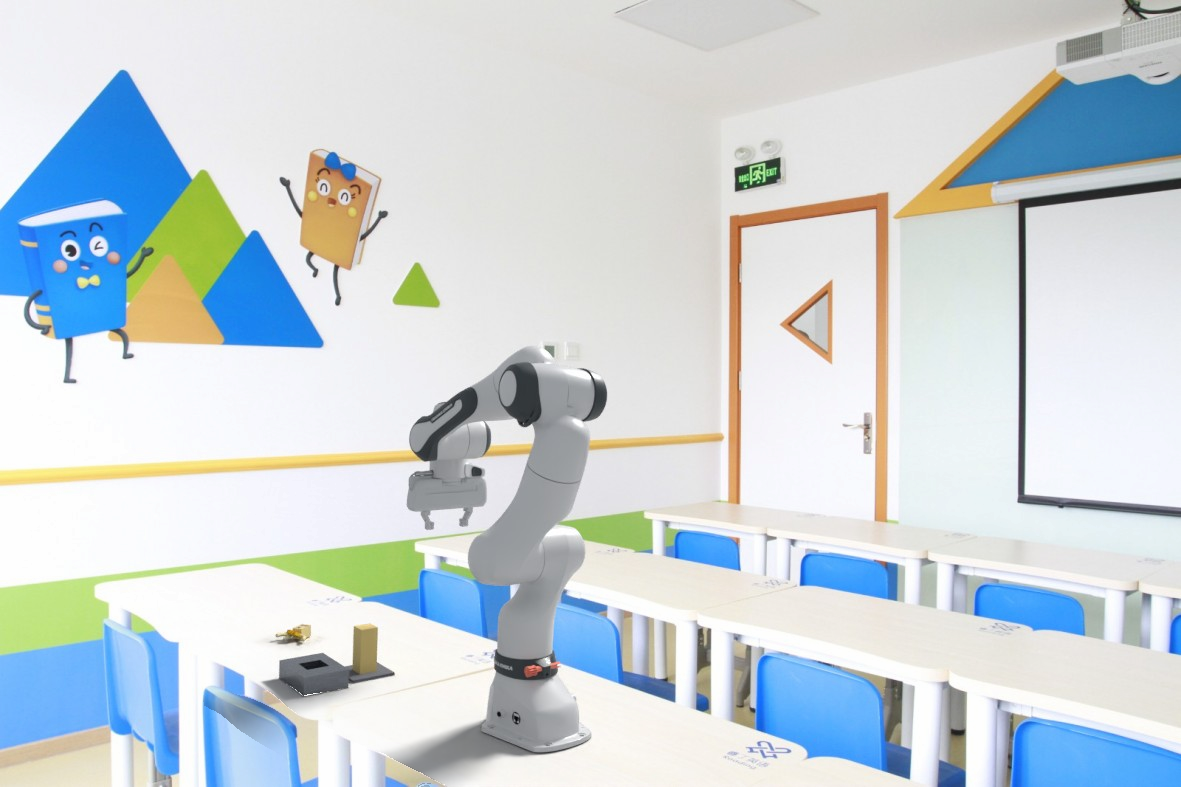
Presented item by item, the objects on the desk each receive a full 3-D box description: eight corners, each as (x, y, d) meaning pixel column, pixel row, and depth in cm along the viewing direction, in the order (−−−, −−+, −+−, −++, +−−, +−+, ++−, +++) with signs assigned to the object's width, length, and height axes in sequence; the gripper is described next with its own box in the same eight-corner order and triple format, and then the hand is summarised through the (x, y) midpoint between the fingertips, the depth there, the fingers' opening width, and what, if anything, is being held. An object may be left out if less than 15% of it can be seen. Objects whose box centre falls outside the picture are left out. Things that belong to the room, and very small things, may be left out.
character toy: (273, 629, 226) (294, 621, 233) (273, 641, 226) (294, 633, 233) (299, 633, 223) (320, 625, 230) (299, 646, 223) (319, 638, 230)
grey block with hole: (348, 687, 195) (349, 669, 195) (303, 696, 189) (304, 677, 189) (322, 670, 206) (322, 652, 206) (278, 678, 200) (279, 660, 200)
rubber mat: (394, 675, 204) (394, 672, 204) (353, 683, 198) (353, 680, 198) (374, 663, 212) (374, 660, 212) (334, 670, 206) (334, 668, 206)
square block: (376, 671, 205) (377, 627, 205) (360, 674, 202) (361, 630, 202) (368, 666, 208) (370, 623, 208) (352, 669, 205) (353, 625, 205)
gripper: (416, 472, 205) (414, 533, 205) (491, 469, 218) (489, 526, 218) (402, 470, 209) (400, 529, 209) (476, 466, 223) (475, 522, 223)
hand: (446, 527), depth 214 cm, fingers open, 8 cm apart
